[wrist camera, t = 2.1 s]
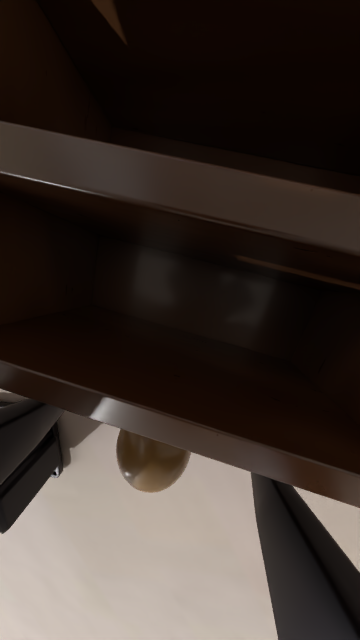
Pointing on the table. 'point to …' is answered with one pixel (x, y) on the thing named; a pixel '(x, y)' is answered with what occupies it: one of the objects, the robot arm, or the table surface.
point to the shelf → (187, 230)
